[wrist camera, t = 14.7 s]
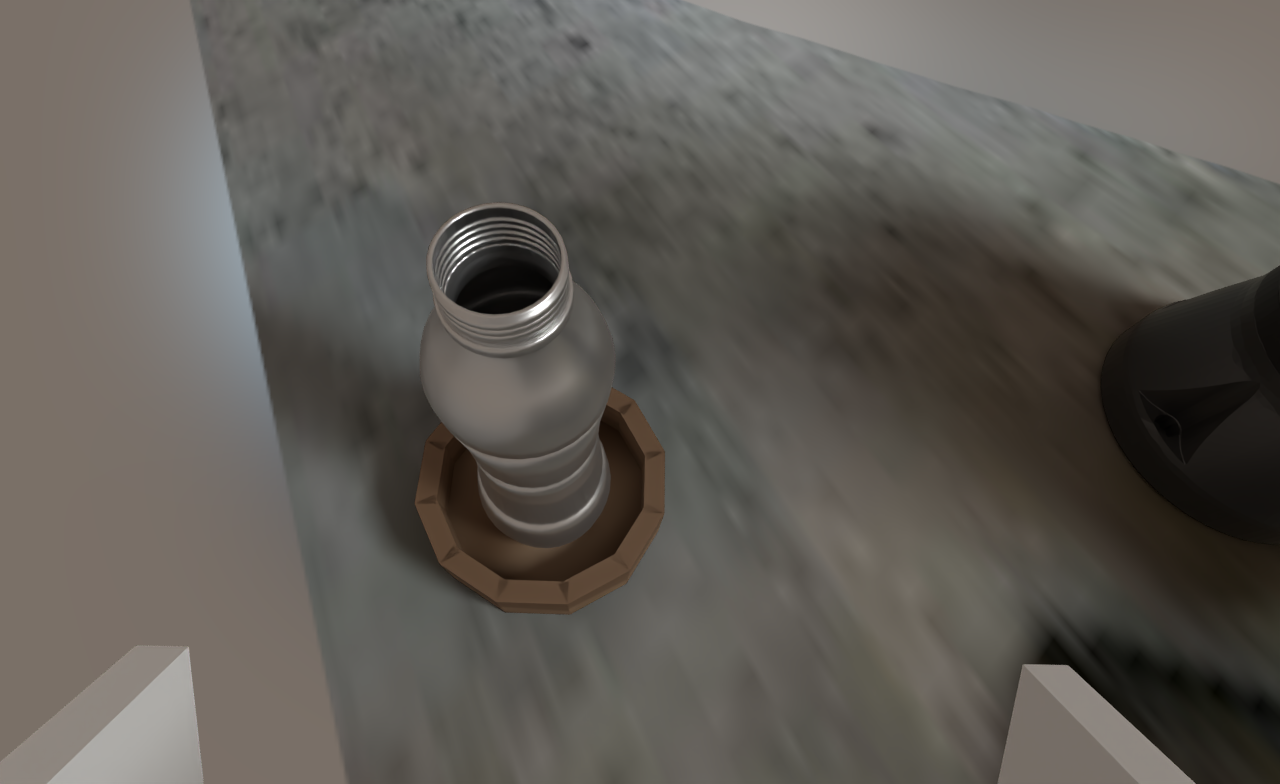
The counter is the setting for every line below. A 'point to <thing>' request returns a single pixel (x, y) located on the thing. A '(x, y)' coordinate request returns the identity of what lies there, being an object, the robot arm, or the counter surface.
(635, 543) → the bowl
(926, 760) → the counter surface
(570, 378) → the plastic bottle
